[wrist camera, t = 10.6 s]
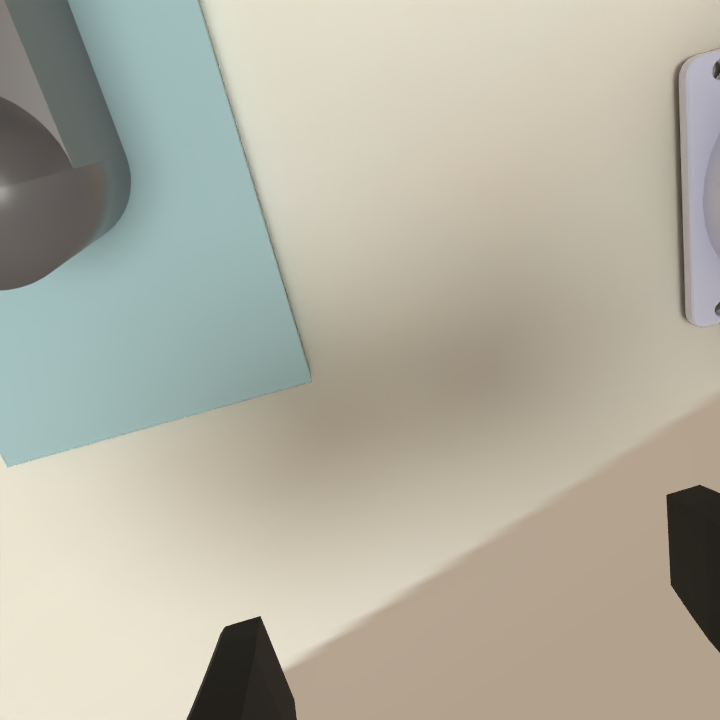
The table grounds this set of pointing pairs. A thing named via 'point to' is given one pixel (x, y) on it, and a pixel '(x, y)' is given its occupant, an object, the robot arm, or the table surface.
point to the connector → (52, 144)
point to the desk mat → (152, 259)
